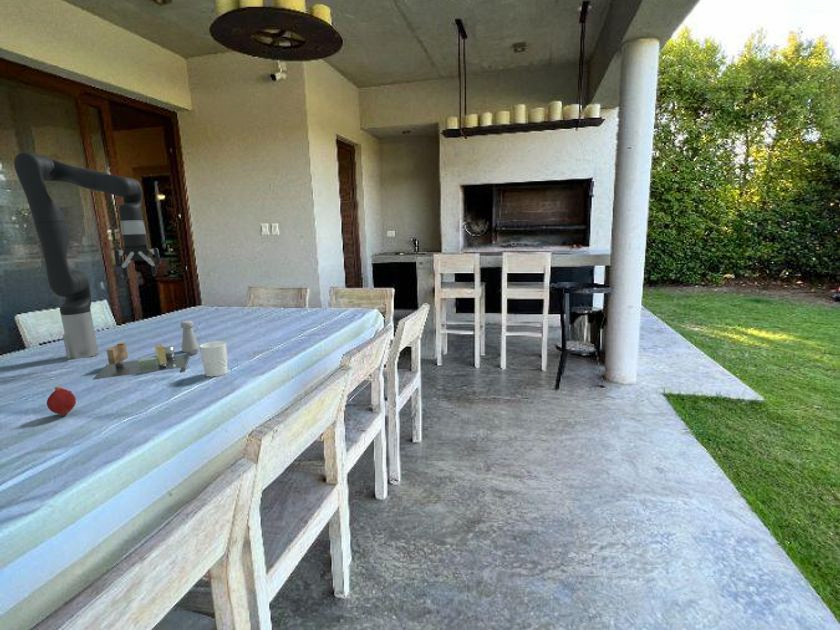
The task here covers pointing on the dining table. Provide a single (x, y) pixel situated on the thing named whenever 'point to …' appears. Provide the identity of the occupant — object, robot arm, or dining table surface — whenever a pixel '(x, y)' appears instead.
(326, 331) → the dining table surface
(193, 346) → the salt shaker
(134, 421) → the dining table surface
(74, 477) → the dining table surface
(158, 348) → the pale yellow sponge
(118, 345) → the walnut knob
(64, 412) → the onion
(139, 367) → the level plate
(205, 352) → the white cup
